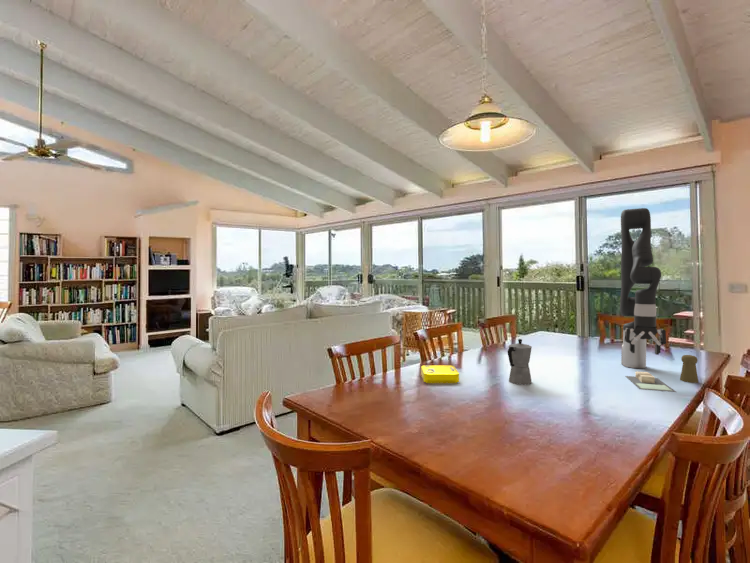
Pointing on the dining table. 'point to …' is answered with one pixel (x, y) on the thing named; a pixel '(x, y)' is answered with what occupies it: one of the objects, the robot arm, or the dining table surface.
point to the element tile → (440, 374)
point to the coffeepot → (519, 363)
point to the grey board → (650, 385)
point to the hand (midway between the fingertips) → (644, 353)
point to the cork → (689, 369)
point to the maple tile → (645, 377)
